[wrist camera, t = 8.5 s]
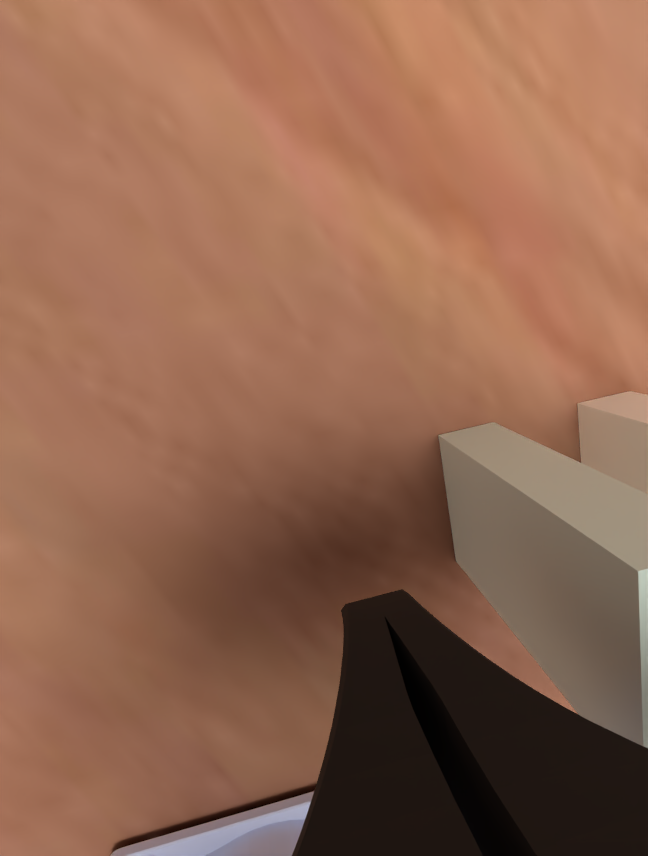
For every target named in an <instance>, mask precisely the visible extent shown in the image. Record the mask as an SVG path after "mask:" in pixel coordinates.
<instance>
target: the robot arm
mask: <svg viewBox="0 0 648 856" xmlns="http://www.w3.org/2000/svg"><path fill="white" fill-rule="evenodd" d="M341 612H342V617H343V624H344V645H343V659H342V668H341V677H340V685H339V691H338V696H337V702H336V707H335V713H334V718H333V723H332V728H331V732H330V736H329V741H328V745H327V749H326V753H325V756H324V760H323V764H322V767H321V771H320V774H319V778H318V781H317V784H316V787H315V791H313V792H310V793H306V794H303V795H299V796H296V797H292V798H289V799H286V800H282V801H279V802H275V803H272V804H269V805H265V806H262V807H258V808H255V809H251V810H248V811H245V812H241V813H238V814H234V815H231V816H228V817H224V818H221V819H217V820H214V821H211V822H207V823H204V824H200V825H197V826H193V827H190V828H187V829H183V830H180V831H176V832H173V833H170V834H166V835H163V836H159V837H156V838H153V839H149V840H146V841H142V842H139V843H135V844H132V845H129V846H125V847H122V848H119V849H117V850H115V851H114V852H113V853H112V854H111V855H110V856H648V748H646V747H644V746H641V745H639V744H637V743H635V742H633V741H631V740H629V739H627V738H625V737H623V736H621V735H618V734H616V733H614V732H612V731H610V730H608V729H606V728H604V727H602V726H600V725H598V724H596V723H593V722H591V721H589V720H587V719H586V718H584V717H582V716H580V715H578V714H576V713H574V712H572V711H570V710H568V709H567V708H565V707H563V706H561V705H560V704H558V703H556V702H554V701H553V700H551V699H549V698H548V697H546V696H544V695H542V694H541V693H539V692H537V691H536V690H534V689H533V688H531V687H529V686H528V685H526V684H525V683H523V682H521V681H520V680H518V679H517V678H515V677H514V676H512V675H511V674H509V673H508V672H506V671H505V670H503V669H502V668H500V667H499V666H498V665H496V664H495V663H493V662H492V661H490V660H489V659H487V658H486V657H485V656H483V655H482V654H481V653H479V652H478V651H476V650H475V649H474V648H473V647H471V646H470V645H469V644H467V643H466V642H465V641H463V640H462V639H461V638H460V637H458V636H457V635H456V634H454V633H453V632H452V631H451V630H449V629H448V628H447V627H446V626H444V625H443V624H442V623H441V622H440V621H438V620H437V619H436V618H435V617H434V616H433V615H431V614H430V613H429V612H428V611H427V610H426V609H425V608H423V607H422V606H421V605H420V604H419V603H418V602H417V601H416V600H415V599H414V598H413V597H411V596H410V595H409V594H408V593H407V592H405V591H404V590H398V591H394V592H390V593H387V594H383V595H379V596H375V597H371V598H367V599H364V600H360V601H356V602H352V603H348V604H345V606H344V607H343V608H342V610H341Z"/></svg>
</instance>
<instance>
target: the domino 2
mask: <svg viewBox="0 0 648 856" xmlns="http://www.w3.org/2000/svg"><path fill="white" fill-rule="evenodd" d="M577 407H578V423H579V440H580V456H581V463H582V464H584V465H586V466H589V467H591V468H593V469H595V470H597V471H599V472H601V473H604V474H606V475H608V476H610V477H612V478H614V479H616V480H619V481H621V482H623V483H625V484H627V485H629V486H631V487H634V488H636V489H638V490H640V491H642V492H644V493H646V494H648V395H647V394H642V393H637V392H633V391H628V392H623V393H619V394H615V395H611V396H606V397H602V398H598V399H593V400H589V401H585V402H581V403H577Z"/></svg>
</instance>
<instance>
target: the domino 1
mask: <svg viewBox="0 0 648 856" xmlns="http://www.w3.org/2000/svg"><path fill="white" fill-rule="evenodd" d="M438 438H439V445H440V452H441V459H442V466H443V473H444V480H445V487H446V494H447V502H448V509H449V516H450V523H451V530H452V537H453V544H454V551H455V558H456V562H457V563H458V564H459V566H460V567H461V568H462V569H463V571H464V572H465V573H466V574H467V576H468V577H469V578H470V579H471V581H472V582H473V583H474V584H475V586H476V587H477V588H478V589H479V591H480V592H481V593H482V594H483V596H484V597H485V598H486V599H487V601H488V602H489V603H490V604H491V606H492V607H493V608H494V609H495V611H496V612H497V613H498V614H499V616H500V617H501V618H502V619H503V621H504V622H505V623H506V624H507V626H508V627H509V628H510V629H511V631H512V632H513V633H514V634H515V636H516V637H517V638H518V639H519V640H520V642H521V643H522V644H523V645H524V647H525V648H526V649H527V650H528V652H529V653H530V654H531V655H532V657H533V658H534V659H535V660H536V662H537V663H538V664H539V665H540V667H541V668H542V669H543V670H544V672H545V673H546V674H547V675H548V677H549V678H550V679H551V680H552V682H553V683H554V684H555V685H556V687H557V688H558V689H559V690H560V692H561V693H562V694H563V695H564V697H565V698H566V699H567V700H568V702H569V703H570V704H571V705H572V707H573V708H574V709H575V710H576V712H577V713H578V714H579V715H580V716H582V717H584V718H586V719H587V720H589V721H591V722H593V723H596V724H598V725H600V726H602V727H604V728H606V729H608V730H610V731H612V732H614V733H616V734H618V735H621V736H623V737H625V738H627V739H629V740H631V741H633V742H635V743H637V744H639V745H641V746H644V747H646V748H648V494H646V493H644V492H642V491H640V490H638V489H636V488H634V487H631V486H629V485H627V484H625V483H623V482H621V481H619V480H616V479H614V478H612V477H610V476H608V475H606V474H604V473H601V472H599V471H597V470H595V469H593V468H591V467H589V466H586V465H584V464H582V463H580V462H578V461H576V460H574V459H572V458H569V457H567V456H565V455H563V454H561V453H559V452H557V451H554V450H552V449H550V448H548V447H546V446H544V445H542V444H539V443H537V442H535V441H533V440H531V439H529V438H527V437H524V436H522V435H520V434H518V433H516V432H514V431H512V430H509V429H507V428H505V427H503V426H501V425H499V424H497V423H495V422H492V423H488V424H483V425H479V426H475V427H470V428H466V429H462V430H458V431H453V432H449V433H445V434H441V435H438Z"/></svg>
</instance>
